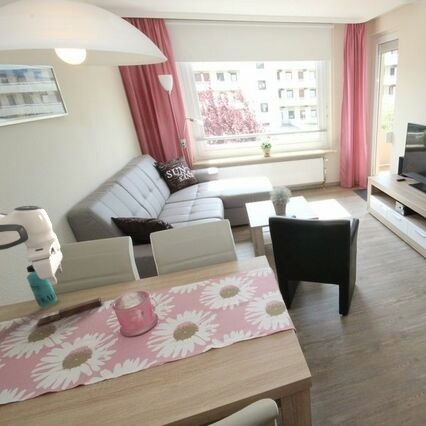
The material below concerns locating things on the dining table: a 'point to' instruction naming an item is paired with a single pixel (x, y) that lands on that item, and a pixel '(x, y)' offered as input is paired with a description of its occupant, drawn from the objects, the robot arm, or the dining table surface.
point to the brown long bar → (71, 311)
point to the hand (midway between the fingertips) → (57, 278)
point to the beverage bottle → (41, 288)
